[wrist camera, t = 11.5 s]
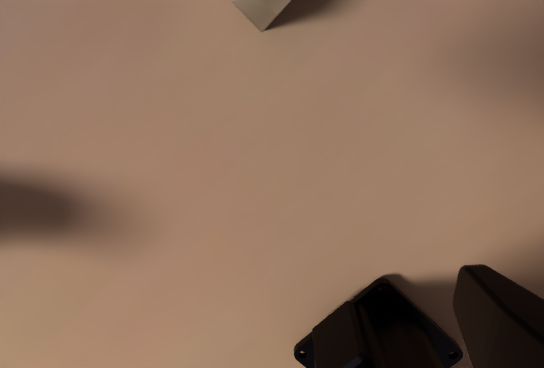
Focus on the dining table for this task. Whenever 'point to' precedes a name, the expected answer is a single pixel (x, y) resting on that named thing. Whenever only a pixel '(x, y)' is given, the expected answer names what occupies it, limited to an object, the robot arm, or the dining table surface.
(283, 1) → the tray
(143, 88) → the dining table surface
